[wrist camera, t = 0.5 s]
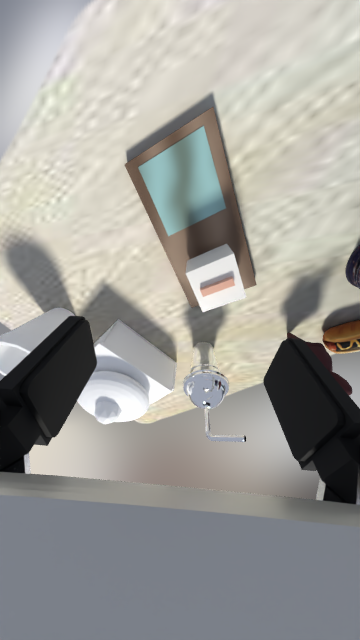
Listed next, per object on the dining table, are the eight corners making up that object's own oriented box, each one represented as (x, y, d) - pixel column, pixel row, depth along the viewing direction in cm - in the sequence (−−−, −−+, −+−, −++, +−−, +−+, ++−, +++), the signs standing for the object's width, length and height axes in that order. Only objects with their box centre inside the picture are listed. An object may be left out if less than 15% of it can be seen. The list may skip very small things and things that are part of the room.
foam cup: (85, 308, 38) (43, 351, 28) (86, 340, 43) (50, 388, 33) (38, 295, 37) (-25, 335, 27) (44, 330, 42) (-7, 375, 32)
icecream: (273, 350, 41) (308, 416, 29) (267, 325, 38) (303, 387, 25) (308, 341, 39) (361, 407, 27) (304, 313, 36) (363, 375, 23)
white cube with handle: (226, 243, 27) (235, 255, 22) (237, 281, 30) (247, 300, 25) (187, 260, 29) (185, 275, 24) (201, 294, 32) (202, 315, 27)
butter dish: (134, 390, 53) (114, 454, 40) (78, 356, 47) (32, 418, 33) (177, 361, 45) (170, 428, 32) (117, 316, 39) (77, 376, 26)
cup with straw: (184, 334, 40) (178, 429, 24) (226, 335, 40) (250, 433, 23) (184, 361, 45) (179, 457, 28) (222, 363, 44) (239, 461, 28)
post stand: (212, 111, 22) (219, 76, 16) (254, 281, 33) (268, 300, 27) (128, 166, 25) (106, 155, 19) (191, 304, 36) (191, 326, 30)
